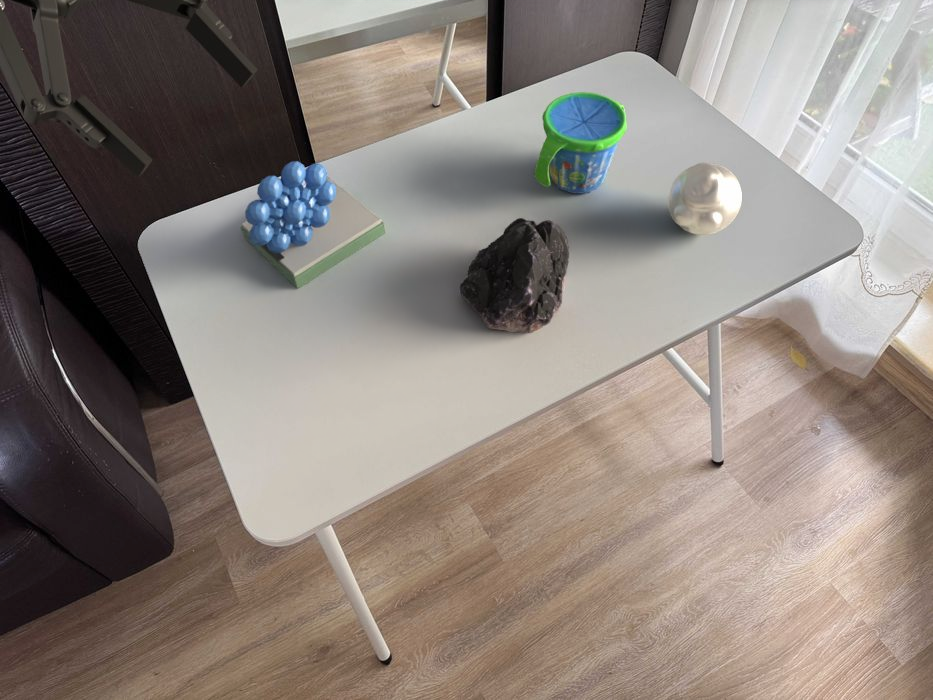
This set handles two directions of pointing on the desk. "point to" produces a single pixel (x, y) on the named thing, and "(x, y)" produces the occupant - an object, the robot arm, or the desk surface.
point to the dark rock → (519, 277)
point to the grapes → (290, 206)
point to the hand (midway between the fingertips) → (200, 121)
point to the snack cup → (580, 141)
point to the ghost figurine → (704, 198)
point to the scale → (326, 240)
